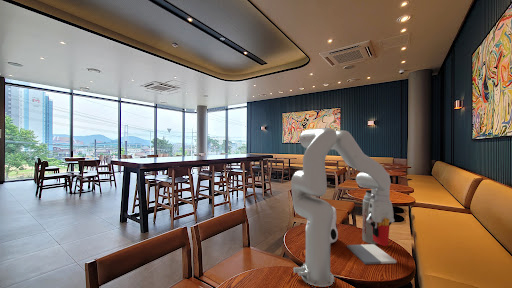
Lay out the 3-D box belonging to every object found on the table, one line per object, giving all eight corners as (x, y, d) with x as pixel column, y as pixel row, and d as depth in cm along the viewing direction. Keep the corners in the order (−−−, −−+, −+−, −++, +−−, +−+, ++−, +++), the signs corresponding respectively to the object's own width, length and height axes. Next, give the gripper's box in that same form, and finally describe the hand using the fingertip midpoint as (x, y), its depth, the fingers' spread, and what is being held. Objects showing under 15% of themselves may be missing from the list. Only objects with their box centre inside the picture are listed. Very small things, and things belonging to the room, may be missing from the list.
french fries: (369, 238, 105) (369, 212, 105) (377, 237, 106) (376, 212, 106) (384, 247, 96) (384, 219, 96) (392, 246, 97) (392, 218, 97)
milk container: (305, 245, 112) (305, 211, 112) (305, 231, 129) (305, 202, 129) (340, 249, 108) (340, 214, 108) (335, 235, 125) (335, 204, 125)
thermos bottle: (364, 243, 115) (365, 191, 115) (360, 237, 122) (361, 188, 122) (380, 244, 113) (381, 192, 113) (375, 238, 121) (376, 189, 121)
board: (365, 264, 94) (365, 262, 94) (346, 246, 110) (346, 245, 110) (396, 263, 96) (396, 260, 96) (373, 246, 112) (373, 244, 112)
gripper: (368, 199, 97) (368, 239, 97) (402, 199, 98) (402, 238, 98) (359, 195, 104) (359, 232, 104) (391, 195, 106) (390, 231, 106)
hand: (380, 235), depth 101 cm, fingers closed on french fries, 4 cm apart
